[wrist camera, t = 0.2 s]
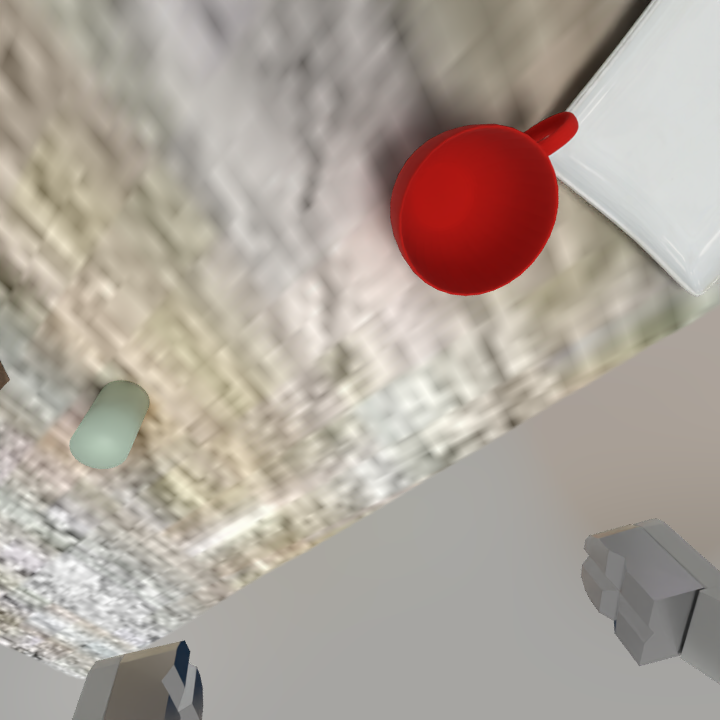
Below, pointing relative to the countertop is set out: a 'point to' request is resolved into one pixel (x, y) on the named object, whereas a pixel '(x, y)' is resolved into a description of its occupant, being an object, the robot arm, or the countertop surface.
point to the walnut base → (3, 376)
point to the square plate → (656, 139)
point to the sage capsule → (110, 425)
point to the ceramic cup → (478, 203)
